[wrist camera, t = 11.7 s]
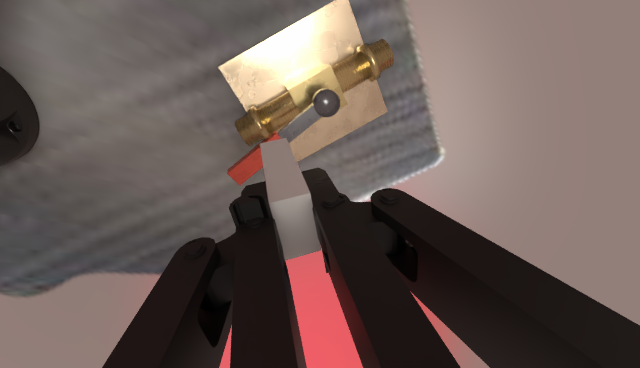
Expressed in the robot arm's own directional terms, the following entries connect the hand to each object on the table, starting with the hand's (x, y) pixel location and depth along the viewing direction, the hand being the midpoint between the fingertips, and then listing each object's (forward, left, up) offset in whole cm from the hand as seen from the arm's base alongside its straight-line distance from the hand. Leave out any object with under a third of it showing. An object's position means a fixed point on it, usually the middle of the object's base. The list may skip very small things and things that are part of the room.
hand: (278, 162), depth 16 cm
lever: (0, -5, -20) cm, 20 cm away
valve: (+7, -4, -29) cm, 30 cm away
